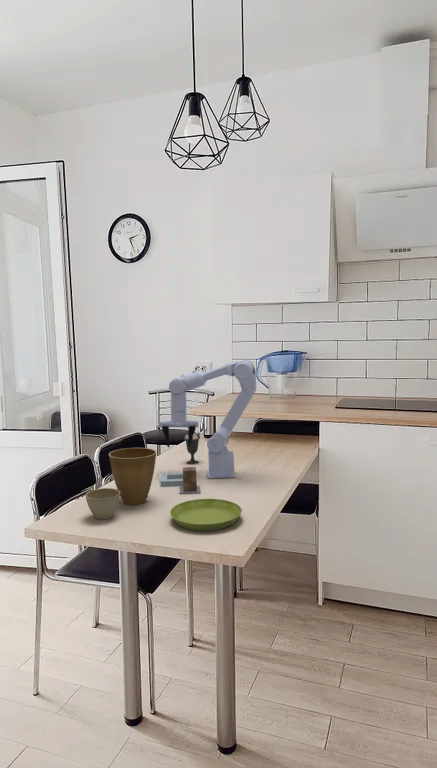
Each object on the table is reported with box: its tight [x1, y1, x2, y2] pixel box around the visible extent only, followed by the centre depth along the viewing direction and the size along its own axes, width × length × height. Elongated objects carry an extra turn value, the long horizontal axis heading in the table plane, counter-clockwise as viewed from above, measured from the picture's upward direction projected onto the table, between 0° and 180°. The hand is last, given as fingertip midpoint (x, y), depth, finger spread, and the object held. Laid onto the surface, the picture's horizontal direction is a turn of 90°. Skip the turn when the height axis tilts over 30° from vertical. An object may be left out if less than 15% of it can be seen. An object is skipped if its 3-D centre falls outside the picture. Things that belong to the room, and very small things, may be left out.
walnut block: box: [182, 466, 198, 491], centre depth 189 cm, size 4×4×7 cm
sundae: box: [183, 427, 201, 465], centre depth 224 cm, size 7×7×15 cm
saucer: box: [169, 498, 243, 532], centre depth 162 cm, size 21×21×3 cm
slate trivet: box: [178, 485, 202, 495], centre depth 189 cm, size 7×7×1 cm
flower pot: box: [85, 487, 121, 521], centre depth 165 cm, size 10×10×7 cm
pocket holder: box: [160, 472, 183, 487], centre depth 199 cm, size 10×10×2 cm
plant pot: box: [108, 447, 157, 506], centre depth 178 cm, size 15×15×16 cm
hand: (178, 446), depth 209 cm, fingers open, 7 cm apart
